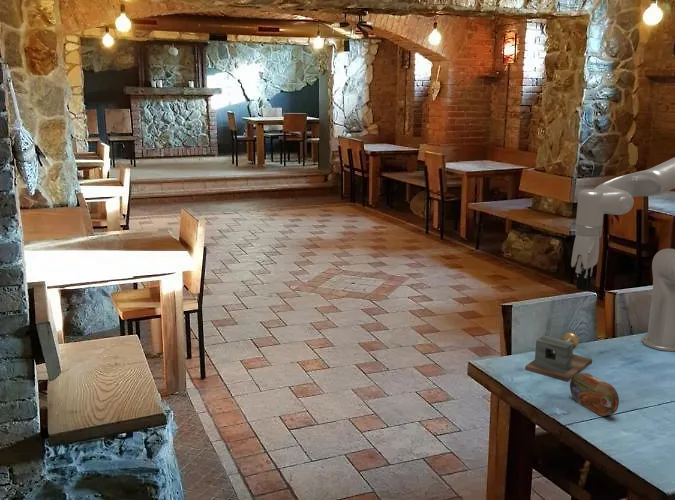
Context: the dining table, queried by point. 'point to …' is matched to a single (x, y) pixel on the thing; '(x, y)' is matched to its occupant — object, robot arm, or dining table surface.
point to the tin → (594, 394)
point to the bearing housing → (557, 359)
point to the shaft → (569, 338)
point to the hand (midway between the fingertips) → (583, 288)
